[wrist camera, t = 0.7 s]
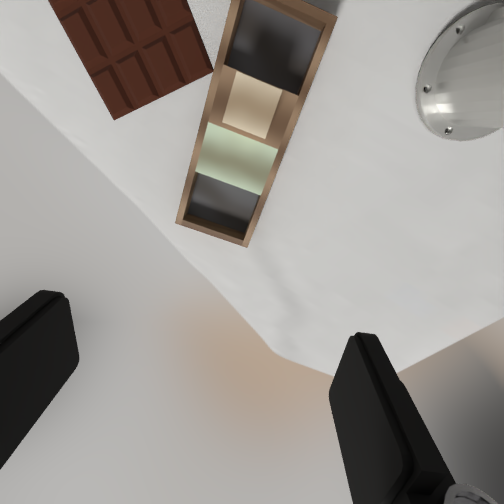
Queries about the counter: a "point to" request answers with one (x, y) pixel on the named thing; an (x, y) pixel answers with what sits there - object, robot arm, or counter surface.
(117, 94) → the chocolate bar
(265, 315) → the counter surface
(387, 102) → the counter surface
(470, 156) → the counter surface
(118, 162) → the counter surface
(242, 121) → the block
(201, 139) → the box
